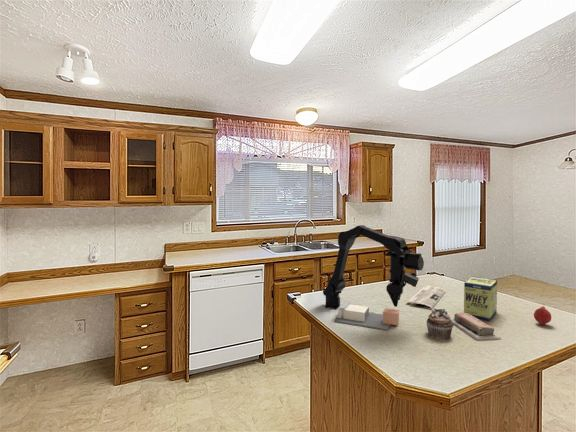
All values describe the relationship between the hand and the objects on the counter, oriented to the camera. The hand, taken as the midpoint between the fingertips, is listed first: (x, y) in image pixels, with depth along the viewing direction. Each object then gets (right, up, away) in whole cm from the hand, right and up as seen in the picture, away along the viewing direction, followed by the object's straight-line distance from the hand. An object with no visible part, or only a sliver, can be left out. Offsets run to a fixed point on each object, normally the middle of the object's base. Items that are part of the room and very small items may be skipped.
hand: (397, 303), depth 136 cm
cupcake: (+13, -10, -10) cm, 20 cm away
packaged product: (+29, -10, -6) cm, 32 cm away
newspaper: (+28, -8, +35) cm, 46 cm away
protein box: (+43, -8, +11) cm, 45 cm away
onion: (+61, -9, -2) cm, 61 cm away
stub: (-2, -9, +2) cm, 9 cm away
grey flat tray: (-12, -9, +7) cm, 17 cm away
